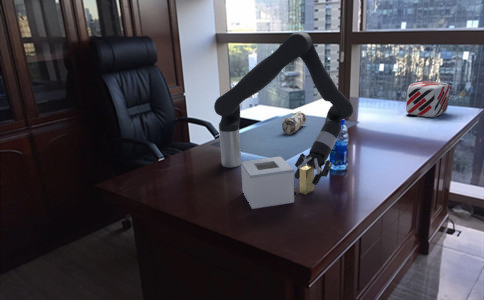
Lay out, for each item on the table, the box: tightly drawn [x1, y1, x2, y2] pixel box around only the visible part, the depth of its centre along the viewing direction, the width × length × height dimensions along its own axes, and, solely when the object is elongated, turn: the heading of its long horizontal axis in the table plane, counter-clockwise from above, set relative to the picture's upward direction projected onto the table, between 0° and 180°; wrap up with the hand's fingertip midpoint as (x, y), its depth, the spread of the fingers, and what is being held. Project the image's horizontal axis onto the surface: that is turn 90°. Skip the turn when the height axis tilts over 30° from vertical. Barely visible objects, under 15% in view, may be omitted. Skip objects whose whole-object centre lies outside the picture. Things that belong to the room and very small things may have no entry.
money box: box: [240, 156, 295, 210], centre depth 151 cm, size 15×16×13 cm
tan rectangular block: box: [299, 164, 315, 195], centre depth 154 cm, size 3×5×10 cm, turn 133°
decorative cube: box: [405, 80, 451, 118], centre depth 253 cm, size 20×20×20 cm
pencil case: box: [281, 110, 307, 136], centre depth 237 cm, size 22×8×10 cm, turn 154°
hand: (304, 181), depth 154 cm, fingers open, 8 cm apart
